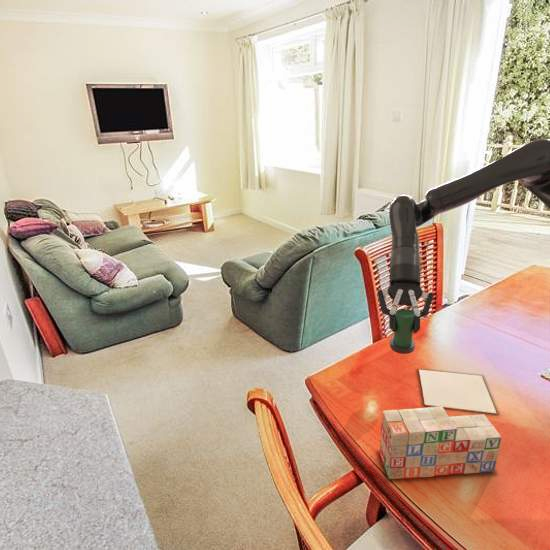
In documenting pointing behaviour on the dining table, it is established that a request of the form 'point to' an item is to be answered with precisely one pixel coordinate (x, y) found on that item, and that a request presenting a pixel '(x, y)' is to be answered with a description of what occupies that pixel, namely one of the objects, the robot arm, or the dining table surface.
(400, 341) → the green cylinder with base
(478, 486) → the dining table surface
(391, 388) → the dining table surface
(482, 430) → the stack of blocks
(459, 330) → the dining table surface
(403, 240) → the robot arm
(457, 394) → the napkin
